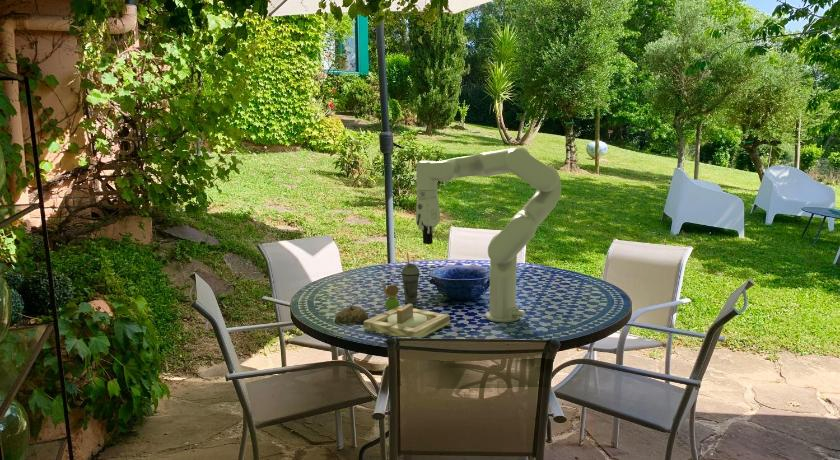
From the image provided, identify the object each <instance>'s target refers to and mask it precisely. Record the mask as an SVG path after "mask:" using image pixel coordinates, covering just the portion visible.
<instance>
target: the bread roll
mask: <svg viewBox="0 0 840 460" xmlns="http://www.w3.org/2000/svg"><path fill="white" fill-rule="evenodd" d="M368 319H369V315H368V313H367V312H366V311H365V309H363V308H362V307H360V306H349V307H345V308H344V309H342V310H341V311H339V312H337V314H336V315H335V319H334V323H336V324H343V325H345V324H349V323H350V324H359V323H360V322H363V323H364V321H366V320H368ZM360 324H361V323H360Z"/></svg>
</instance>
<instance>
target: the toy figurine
mask: <svg viewBox="0 0 840 460" xmlns="http://www.w3.org/2000/svg"><path fill="white" fill-rule="evenodd" d="M381 282H382V284H381V285H382V291H383V293H384V295H385V296H386V297H387V299H386V300H385V302H384V306H385V308H386V309H387V311H389V310H392V309H394V308H396V307H399V306H400V302H399V300H398V298H397V297H399V294H398V293H399V287H398V286H397V285H396V284H390V285H388V286H386V285H387V284H386V283H384V280H382V281H381Z"/></svg>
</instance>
